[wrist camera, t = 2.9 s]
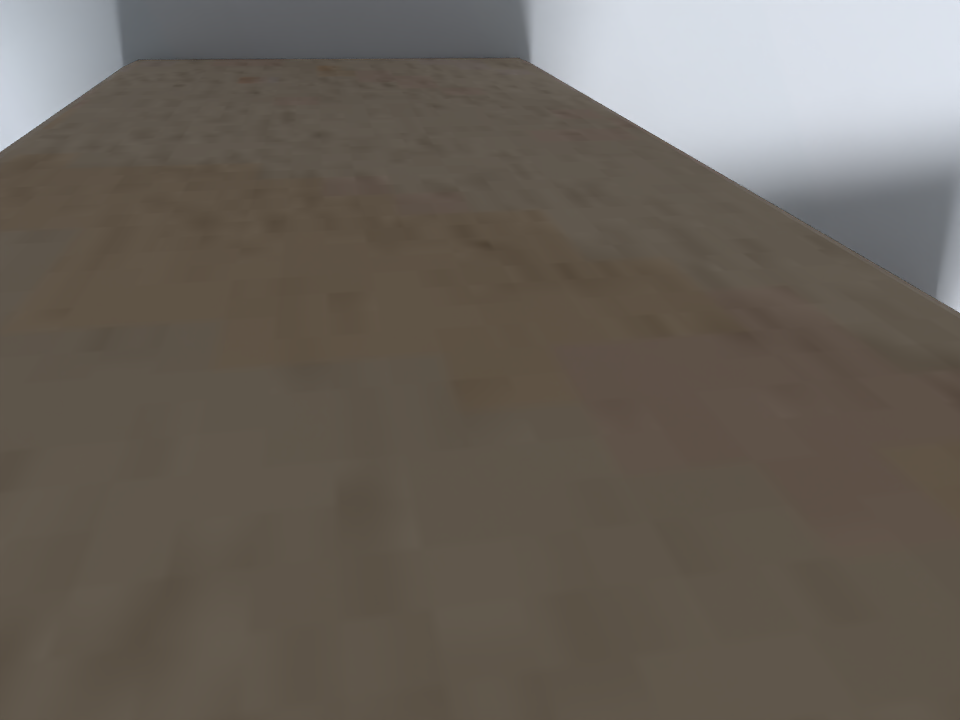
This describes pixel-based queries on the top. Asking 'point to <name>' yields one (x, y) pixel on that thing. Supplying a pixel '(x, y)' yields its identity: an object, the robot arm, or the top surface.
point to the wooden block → (452, 416)
